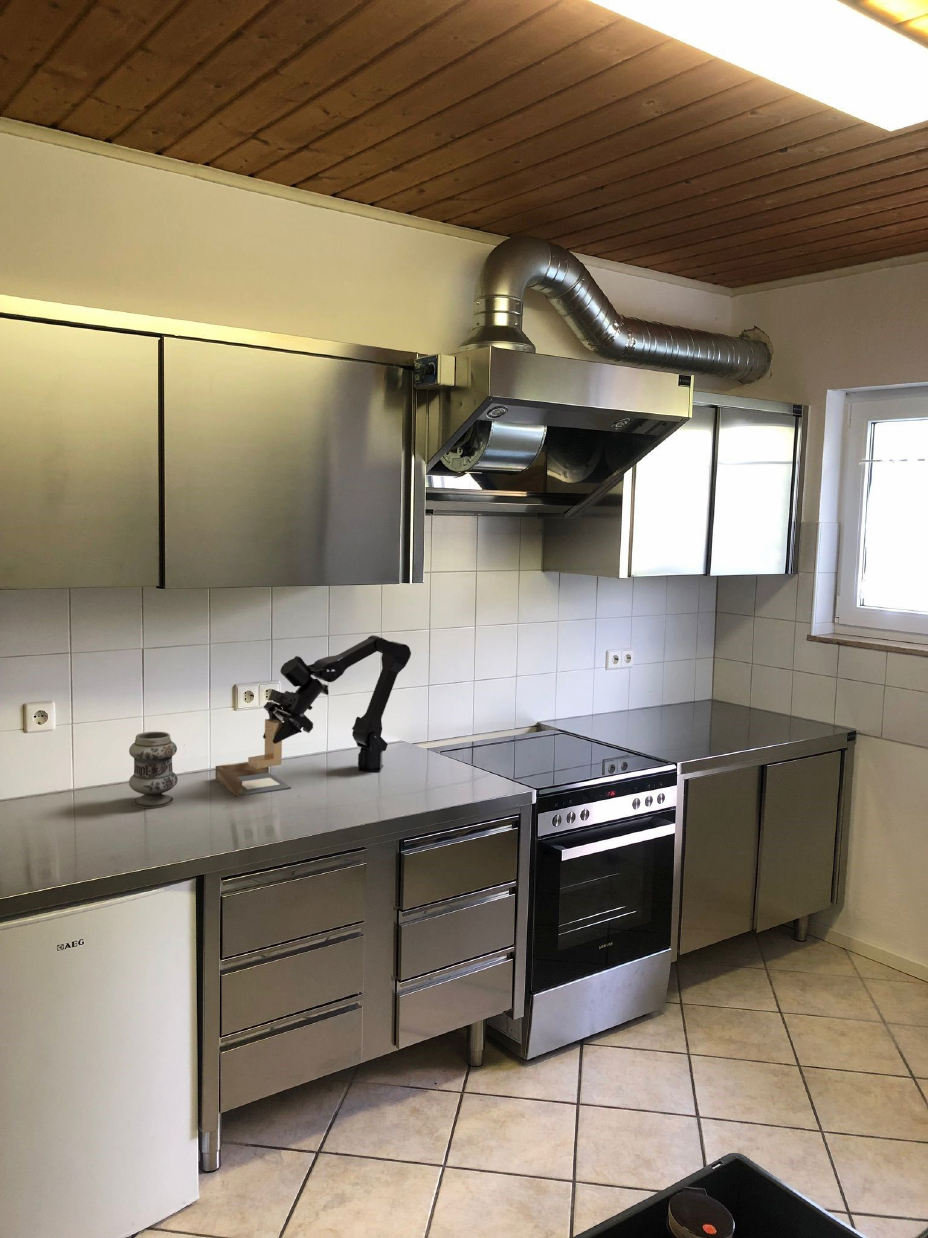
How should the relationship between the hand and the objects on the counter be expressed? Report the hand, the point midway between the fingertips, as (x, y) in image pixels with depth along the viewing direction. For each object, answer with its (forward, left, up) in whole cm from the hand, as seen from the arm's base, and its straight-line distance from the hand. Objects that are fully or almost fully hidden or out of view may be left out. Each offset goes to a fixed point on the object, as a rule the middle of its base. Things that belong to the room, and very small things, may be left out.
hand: (268, 740), depth 264 cm
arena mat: (+4, -2, -13) cm, 14 cm away
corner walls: (+5, -2, -13) cm, 15 cm away
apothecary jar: (+25, +18, -14) cm, 34 cm away
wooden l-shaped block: (+1, +1, -7) cm, 7 cm away
